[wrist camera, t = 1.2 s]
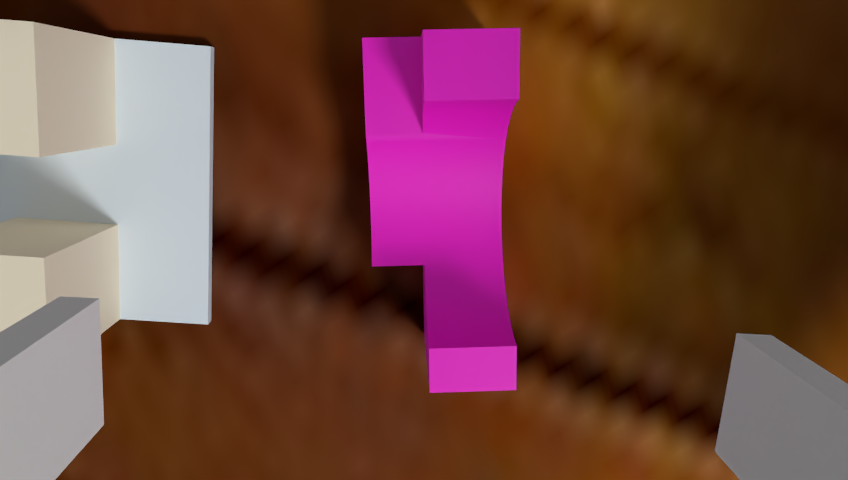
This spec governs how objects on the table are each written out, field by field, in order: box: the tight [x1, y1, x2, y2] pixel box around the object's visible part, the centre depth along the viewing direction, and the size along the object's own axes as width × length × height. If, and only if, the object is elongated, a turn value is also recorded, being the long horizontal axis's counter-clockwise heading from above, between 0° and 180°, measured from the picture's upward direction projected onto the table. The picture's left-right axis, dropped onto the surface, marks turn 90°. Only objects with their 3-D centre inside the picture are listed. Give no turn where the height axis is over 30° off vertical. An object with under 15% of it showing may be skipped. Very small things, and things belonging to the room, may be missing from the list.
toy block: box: [362, 28, 520, 393], centre depth 30 cm, size 15×6×8 cm, turn 1°
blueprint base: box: [0, 19, 214, 334], centre depth 29 cm, size 14×14×8 cm
